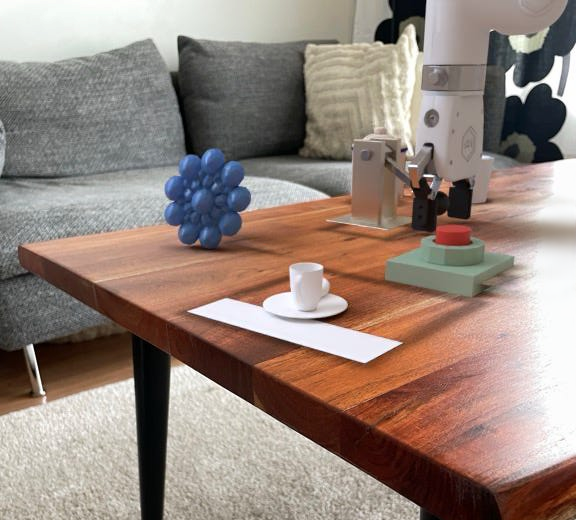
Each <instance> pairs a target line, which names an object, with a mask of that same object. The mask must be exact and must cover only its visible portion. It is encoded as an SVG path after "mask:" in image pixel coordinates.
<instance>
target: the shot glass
mask: <svg viewBox="0 0 576 520" xmlns="http://www.w3.org/2000/svg"><path fill="white" fill-rule="evenodd" d="M494 162H495V157H494V156H491V155H485V154H482V162H481V169H480V171H479V172H478V173H477V174H476V175H475V177H474V179H475V186H474V188H470V189H473V195H472V204H481V203H482V204H484V203H486V202H487V197H488V193H489V187H490V183H491V177H492V172H493V167H494ZM451 187H455V186H453V185H452V184H451Z"/></svg>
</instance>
